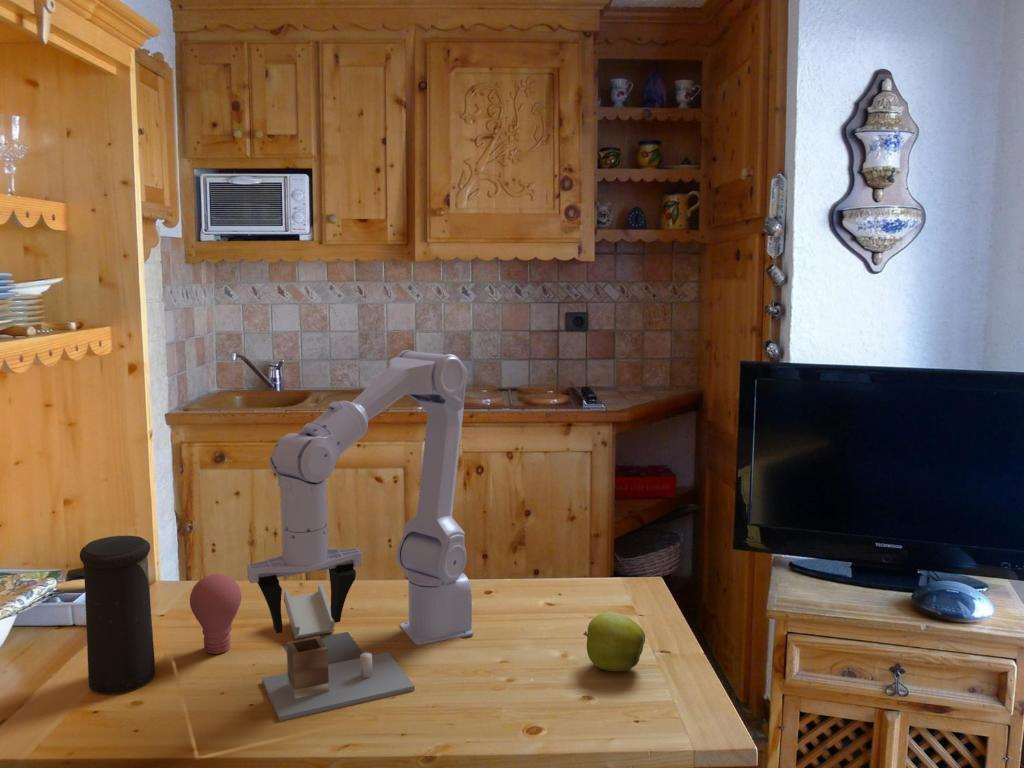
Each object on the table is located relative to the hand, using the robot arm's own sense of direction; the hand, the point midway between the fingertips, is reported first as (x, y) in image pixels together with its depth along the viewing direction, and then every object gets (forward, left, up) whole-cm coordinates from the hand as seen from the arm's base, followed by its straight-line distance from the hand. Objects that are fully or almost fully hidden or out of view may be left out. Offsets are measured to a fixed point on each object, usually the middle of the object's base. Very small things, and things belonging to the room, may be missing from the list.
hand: (307, 624), depth 115 cm
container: (+22, -15, -10) cm, 29 cm away
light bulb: (+9, -18, -10) cm, 22 cm away
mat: (-5, -11, -10) cm, 15 cm away
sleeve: (0, 0, -9) cm, 9 cm away
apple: (-41, +11, -10) cm, 44 cm away
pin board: (-4, 0, -10) cm, 11 cm away
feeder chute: (-5, -20, -10) cm, 23 cm away
